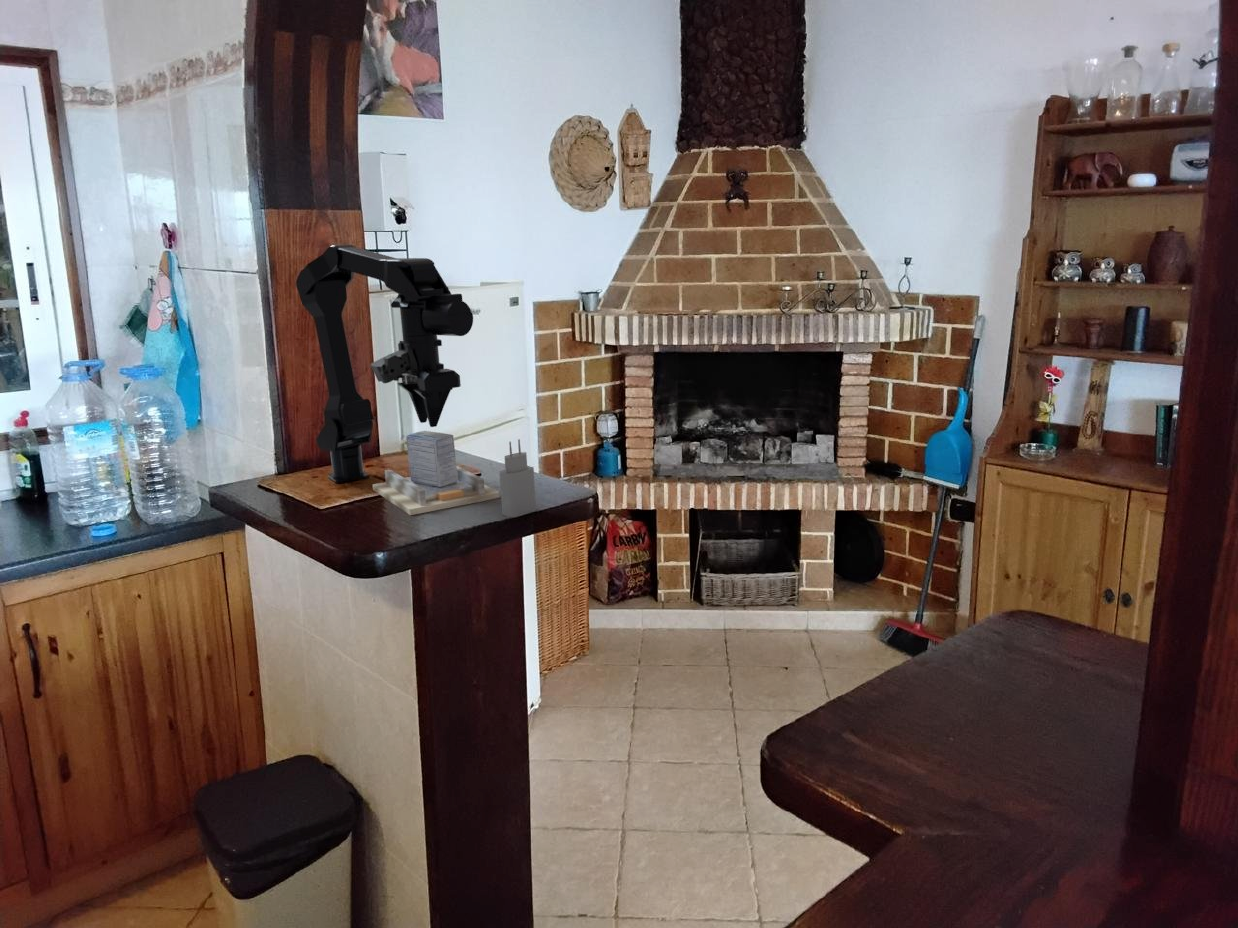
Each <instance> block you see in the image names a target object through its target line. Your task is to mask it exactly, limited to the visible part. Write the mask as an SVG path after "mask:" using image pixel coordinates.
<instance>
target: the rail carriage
mask: <svg viewBox="0 0 1238 928" xmlns="http://www.w3.org/2000/svg"><path fill="white" fill-rule="evenodd" d="M404 478H405V479H407V480H409V481H410V482H411V477H410V476H407V477H404ZM412 483H414V484H415V485H417V486H419V487H420V488H422V489H424V490H425V498H426V501H429V500H434V499H439V500H440V501H443V500H449V499H454V498H459V497H463V494H466V493H471V492H473V486H471V485H469V484H467V483H465V482H463V481H461V480H459V479H458V481H457V482H456V483H452V484H449V485H446V486H443V487H437V486H432V485H427V484H422V483H416V482H412Z"/></svg>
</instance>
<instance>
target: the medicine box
mask: <svg viewBox="0 0 1238 928" xmlns="http://www.w3.org/2000/svg"><path fill="white" fill-rule="evenodd" d="M405 437H406V448H407V459H408V466H409V467H408V468H409V477H411V482H416V483H422V484H427V485H432V486H437V487H443V486H446V485H449V484H452V483H456V482H457V481H458V475H457V466H458V465H457V457H456V448H455V438H454V435H453V434H451V433H444V432H437V431H430V430H422V431H418V432H414V433H411V434H408V435H406V436H405Z"/></svg>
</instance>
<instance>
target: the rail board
mask: <svg viewBox="0 0 1238 928" xmlns="http://www.w3.org/2000/svg"><path fill="white" fill-rule="evenodd" d="M456 466H457V475H458V479H459V480H461V481H463V482H465V483H467V484H469V485H471V486H473V492H471V493H466V494H463V497H459V498H454V499H449V500H443V501H440V500H439V499H434V500H429V501H426V498H425V490H424V489H422V488H420V487H419V486H417V485H415V484H414V483H412V482H410V481H409V480H407V479H405V478H406V477H404V476H402V475H400V474H399V473H397V472H395V471H393V470H392V469H385V470H384V478H385V481H384V482H379V483H373V484H372V491H374V492H375V493H377V494H378V495H380V496H381V497H383V498H384V499H386V500H387V501H389V502H390V503H391V504H393V505H394V506H396V507H398V508H399V509H400V510H402V511H403V512H404V513H406V514H408V515H409V516H413V515H414V516H415V515H419V514H423V513H424V514H425V513H428V512H433V511H440V510H445V509H448V508H453V507H460V506H464V505H469V504H475V503H480V502H484V501H491V500H495V499H501V496H500V491H498V490H496V489H494V488H491V487H490V486H488V485H486V484H485V479H484V478H482V477H480V476H479V475H476V474H474V473H472V472H471V471H468V470H467V469H464V468H463V467H460V466H458V465H456Z"/></svg>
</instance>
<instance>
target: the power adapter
mask: <svg viewBox="0 0 1238 928" xmlns="http://www.w3.org/2000/svg"><path fill="white" fill-rule="evenodd" d="M517 442H518V443H517V444H518V452H515V453H513V451H512V450H513V448H512V442H511V441H509V442H508V443H509V454H507V455H504V466H505V467H504V469H503V470H500V471H499V484H500V499H501V510H502V511H501V514H502V516H505V517H507V518H508V517H509V518H518V517H521V516H523V515H526V514H530V513H533V512H536V511H537V499H536V486H535V484H536V483H535V470H534V468H535V467H534V466H531V465H530V466H529V465H528V460H527V459H528V458H527V457H528V456H527V452H526V451H525V452H524V451H521V439H517Z"/></svg>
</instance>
